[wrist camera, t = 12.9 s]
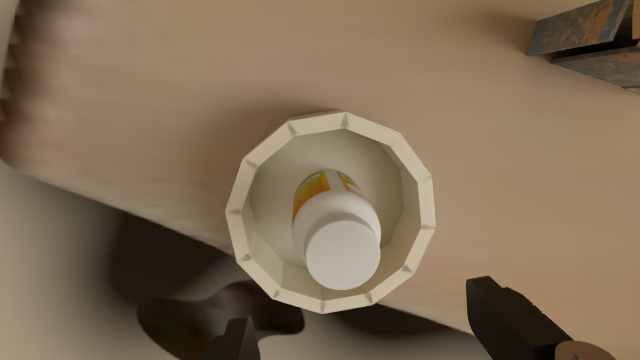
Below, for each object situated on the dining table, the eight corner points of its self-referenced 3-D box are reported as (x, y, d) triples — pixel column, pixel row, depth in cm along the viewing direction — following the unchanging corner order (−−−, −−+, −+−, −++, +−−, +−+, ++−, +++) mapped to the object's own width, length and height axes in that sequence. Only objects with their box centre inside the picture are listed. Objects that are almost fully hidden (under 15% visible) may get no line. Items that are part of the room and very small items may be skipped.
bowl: (223, 127, 26) (206, 134, 21) (402, 98, 27) (425, 98, 22) (259, 289, 29) (251, 326, 25) (417, 261, 30) (441, 292, 25)
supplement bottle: (291, 232, 27) (288, 302, 18) (294, 166, 26) (292, 204, 17) (357, 234, 28) (388, 304, 18) (363, 170, 27) (400, 209, 17)
